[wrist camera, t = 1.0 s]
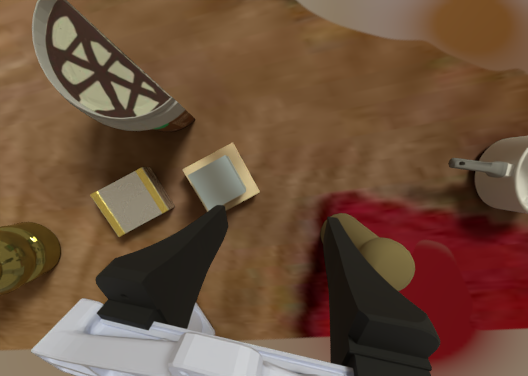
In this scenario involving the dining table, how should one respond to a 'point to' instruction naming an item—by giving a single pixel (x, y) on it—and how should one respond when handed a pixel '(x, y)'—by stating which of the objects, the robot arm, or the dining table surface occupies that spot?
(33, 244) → the olive shiny rounded piece
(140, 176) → the dock
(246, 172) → the stacked blocks
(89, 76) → the food container
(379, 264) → the cork
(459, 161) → the saucepan
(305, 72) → the dining table surface
